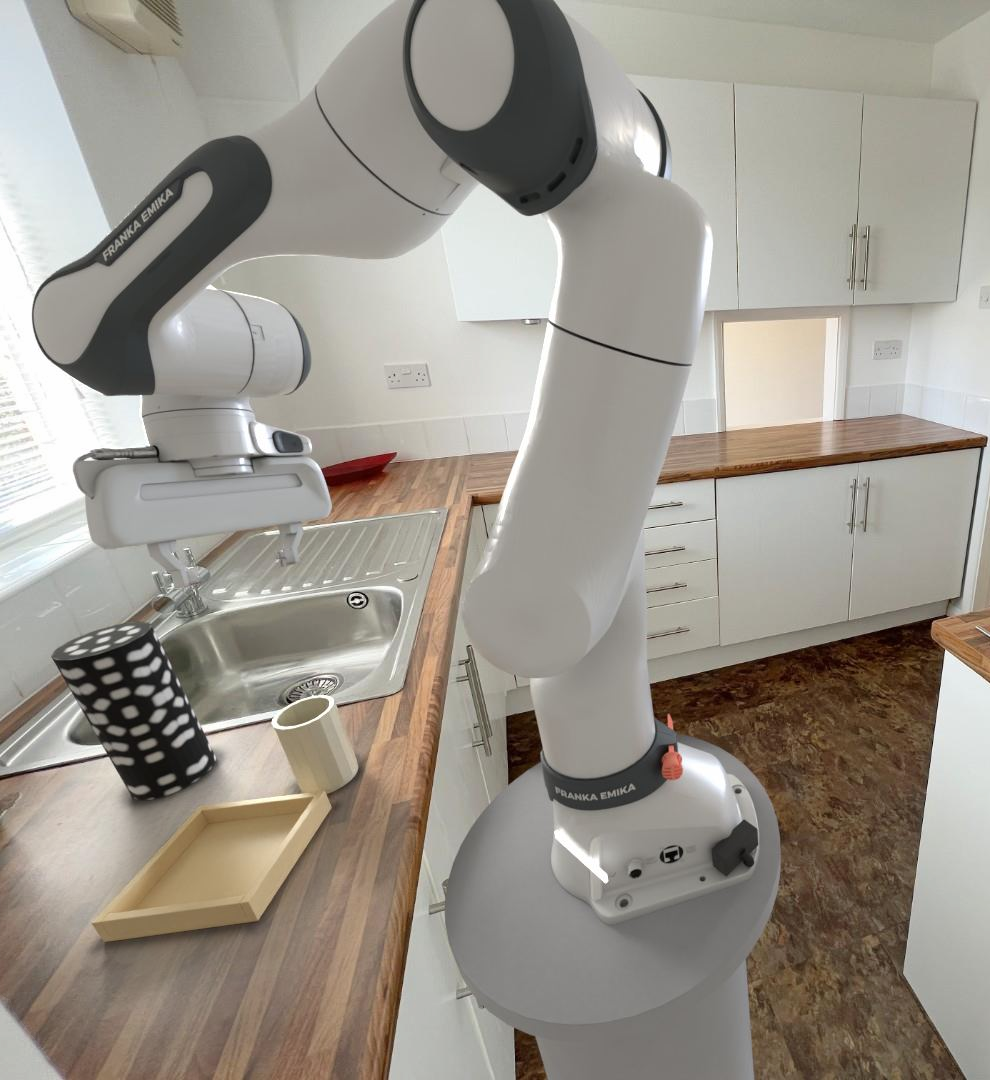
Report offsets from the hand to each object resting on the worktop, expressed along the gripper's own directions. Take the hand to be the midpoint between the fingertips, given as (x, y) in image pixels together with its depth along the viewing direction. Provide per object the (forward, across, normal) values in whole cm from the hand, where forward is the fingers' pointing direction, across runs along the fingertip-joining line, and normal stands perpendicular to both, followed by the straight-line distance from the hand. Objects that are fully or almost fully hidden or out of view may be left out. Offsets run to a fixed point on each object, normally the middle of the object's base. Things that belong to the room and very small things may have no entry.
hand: (242, 575), depth 62 cm
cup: (+27, +6, +4) cm, 28 cm away
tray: (+30, -6, +3) cm, 30 cm away
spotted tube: (+25, -1, +25) cm, 35 cm away
